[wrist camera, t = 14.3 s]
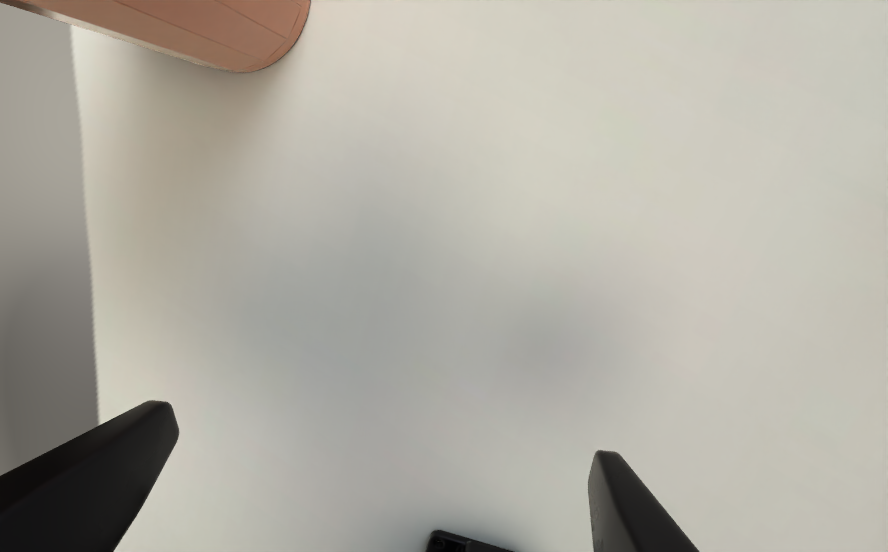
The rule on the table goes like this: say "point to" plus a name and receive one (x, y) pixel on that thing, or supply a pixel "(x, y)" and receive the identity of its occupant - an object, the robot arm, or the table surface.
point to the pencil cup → (189, 26)
